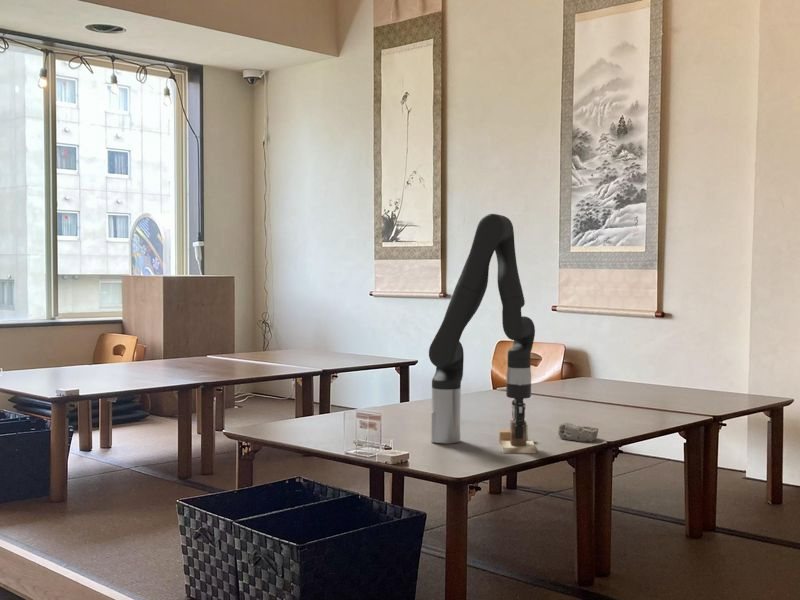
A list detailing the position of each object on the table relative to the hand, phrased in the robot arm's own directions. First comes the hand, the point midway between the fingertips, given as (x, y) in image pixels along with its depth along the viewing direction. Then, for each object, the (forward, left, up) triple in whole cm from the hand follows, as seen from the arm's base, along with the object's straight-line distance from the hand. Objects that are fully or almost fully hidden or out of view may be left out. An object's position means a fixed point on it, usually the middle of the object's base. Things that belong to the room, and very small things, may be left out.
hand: (518, 436), depth 281 cm
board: (0, 0, -4) cm, 4 cm away
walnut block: (0, 0, -2) cm, 2 cm away
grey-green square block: (+2, +14, -4) cm, 15 cm away
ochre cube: (-3, +9, -4) cm, 10 cm away
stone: (+21, +18, -4) cm, 28 cm away
